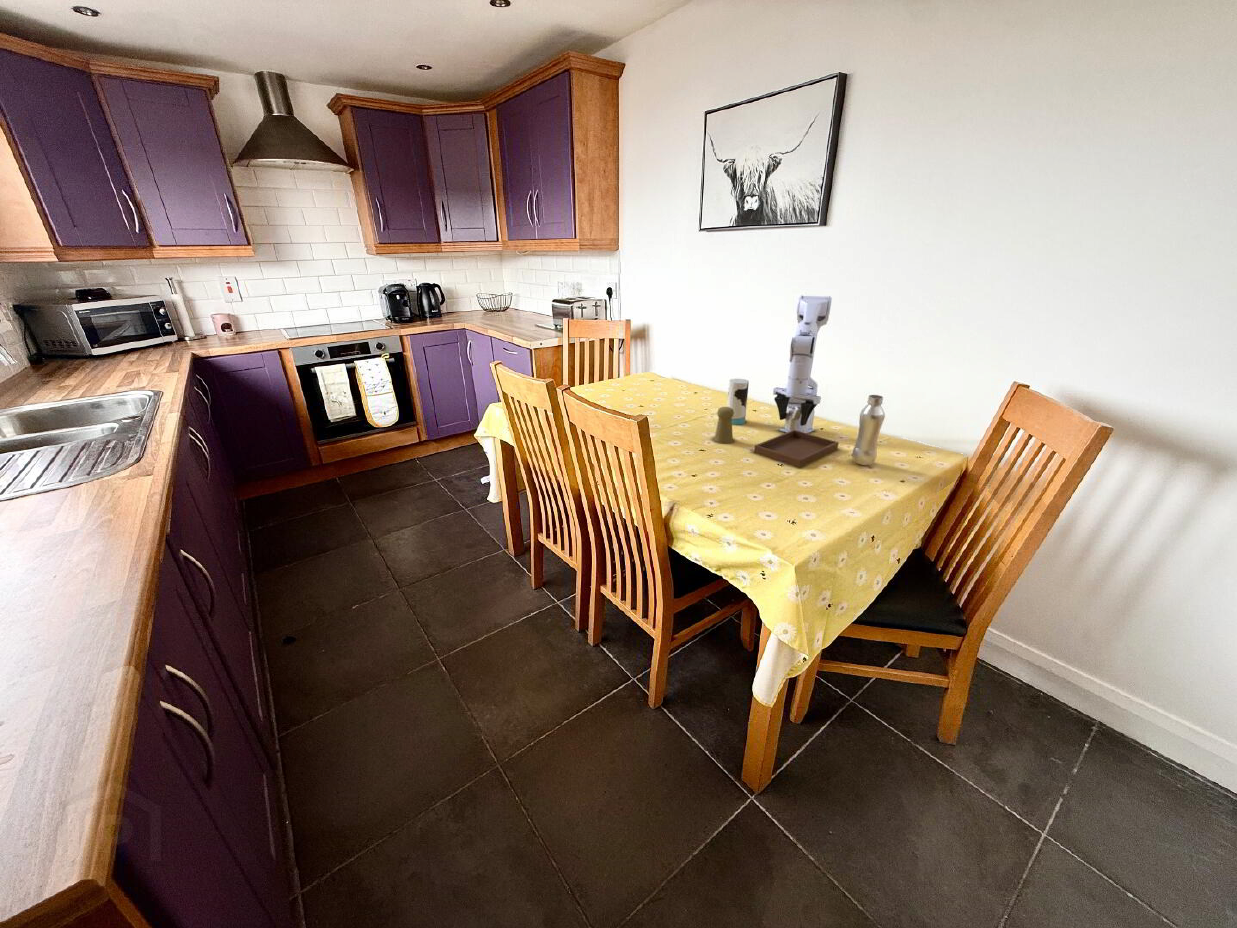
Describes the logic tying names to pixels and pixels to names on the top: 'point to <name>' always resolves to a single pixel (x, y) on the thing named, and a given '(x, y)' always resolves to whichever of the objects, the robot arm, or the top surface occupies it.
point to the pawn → (724, 425)
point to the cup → (738, 399)
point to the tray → (796, 448)
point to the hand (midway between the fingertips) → (792, 422)
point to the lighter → (792, 418)
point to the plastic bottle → (869, 431)
